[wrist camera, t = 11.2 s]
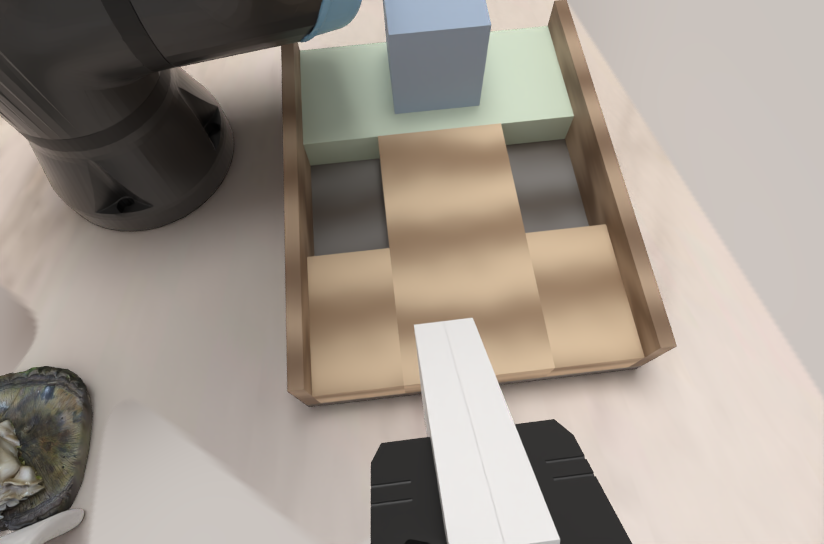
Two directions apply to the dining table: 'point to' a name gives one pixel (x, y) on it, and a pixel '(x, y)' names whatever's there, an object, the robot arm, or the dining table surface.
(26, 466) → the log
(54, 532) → the spoon rest
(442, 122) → the pad
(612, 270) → the box
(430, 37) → the slate block
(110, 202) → the robot arm
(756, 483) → the dining table surface
